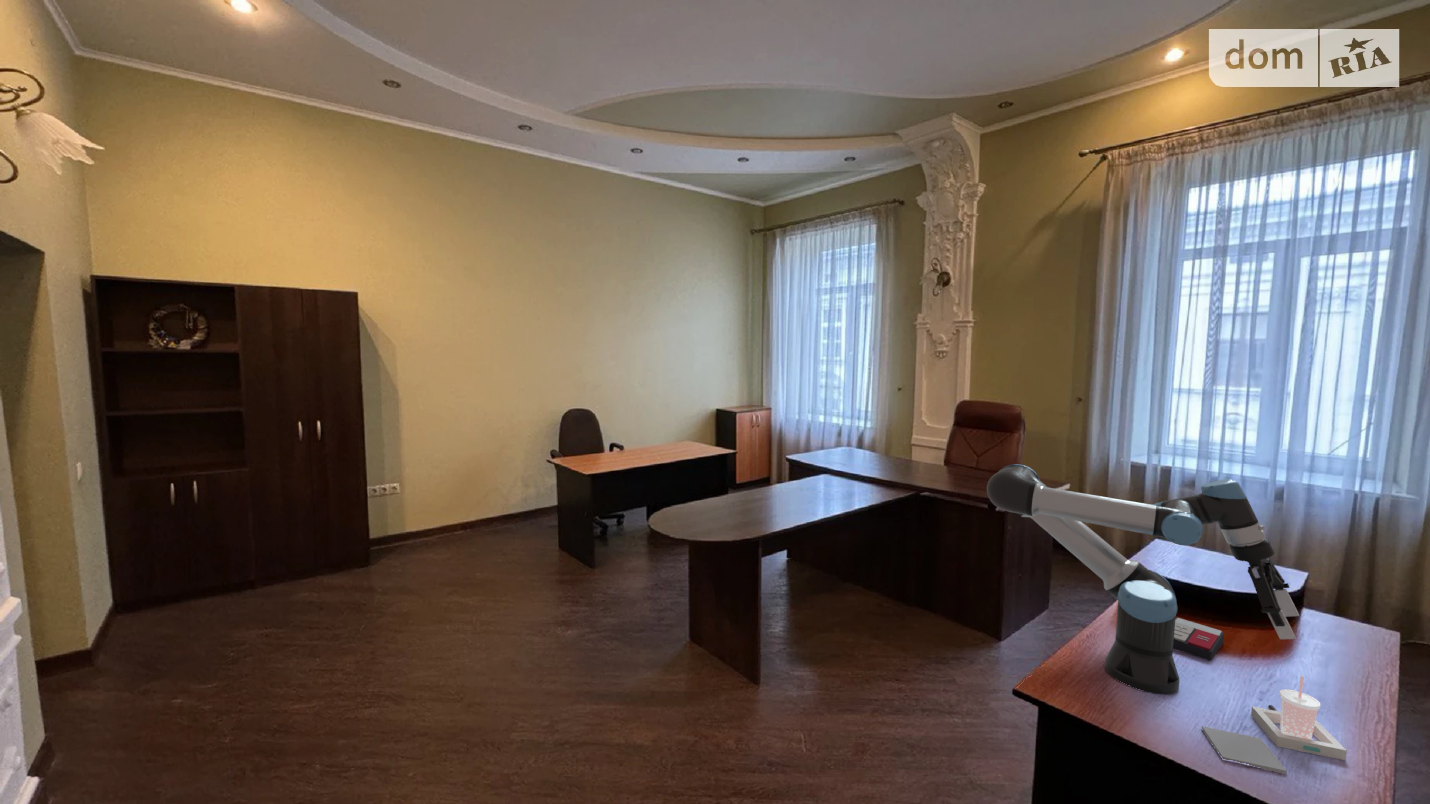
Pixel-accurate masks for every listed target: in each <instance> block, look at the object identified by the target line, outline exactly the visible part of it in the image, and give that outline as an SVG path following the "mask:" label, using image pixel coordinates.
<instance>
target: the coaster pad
mask: <svg viewBox="0 0 1430 804" xmlns="http://www.w3.org/2000/svg"><path fill="white" fill-rule="evenodd" d="M1202 729H1203V731H1204V732H1203V731H1202V732H1203V734H1204V733H1205V734H1206V735H1205V734H1204V735H1205V736H1207V737H1208V738H1207V737H1206V738H1207V740H1208V739H1209V740H1210V741H1209V740H1208V741H1209V743H1210V742H1211V743H1212V744H1213V746H1214V747H1215V749H1216V750H1217V751H1218V752H1219V754H1220V755H1221V756H1222V758H1223V759H1226V760H1233V761H1237V762H1240V763H1246V764H1249V765H1252V766H1255V767H1260V768H1263V769H1266V770H1265V771H1268V770H1270V771H1269V772H1272V771H1274V772H1273V773H1278V774H1281V773H1282V774H1283V775H1286V776H1287V772H1288V770H1287V769H1286V768H1285V766H1283V764H1282V763H1281V761H1279V759H1278V758H1277V757H1276V755H1275V754H1274V753H1273V751H1272V750H1271V749H1270V748H1269V746H1267V744H1266V743H1265V742H1264V741H1263V739H1262V738H1261V737H1256V736H1251V735H1246V734H1241V733H1237V732H1232V731H1228V730H1223V729H1217V728H1212V727H1207V726H1204V725H1203V726H1201V730H1202ZM1211 743H1210V744H1211ZM1212 744H1211V745H1212ZM1213 746H1212V747H1213ZM1214 747H1213V748H1214ZM1215 749H1214V750H1215ZM1216 750H1215V751H1216ZM1263 769H1262V770H1263ZM1282 774H1281V775H1282Z"/></svg>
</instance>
